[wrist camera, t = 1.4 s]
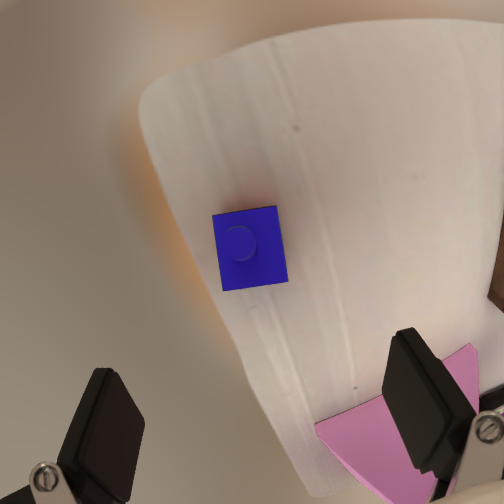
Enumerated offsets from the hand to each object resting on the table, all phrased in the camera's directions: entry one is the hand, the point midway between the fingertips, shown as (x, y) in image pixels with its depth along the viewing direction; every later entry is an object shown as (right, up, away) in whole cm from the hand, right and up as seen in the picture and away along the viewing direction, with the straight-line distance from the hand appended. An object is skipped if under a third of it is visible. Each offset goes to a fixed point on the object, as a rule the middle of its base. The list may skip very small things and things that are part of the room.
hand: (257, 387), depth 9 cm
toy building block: (0, +5, +12) cm, 13 cm away
